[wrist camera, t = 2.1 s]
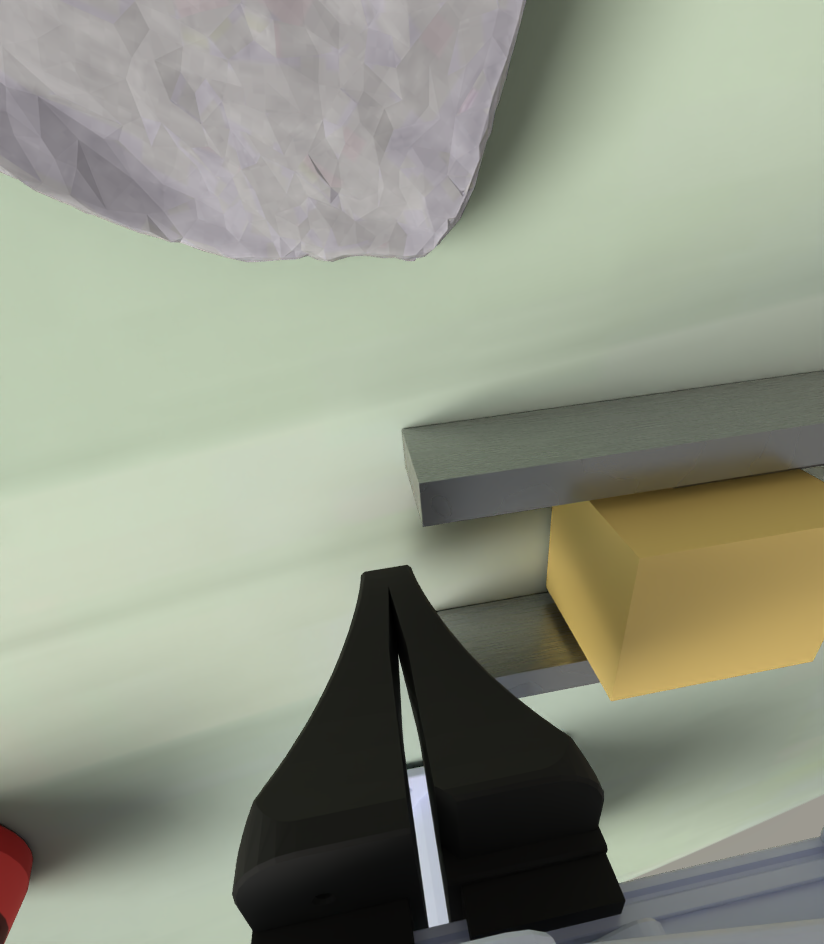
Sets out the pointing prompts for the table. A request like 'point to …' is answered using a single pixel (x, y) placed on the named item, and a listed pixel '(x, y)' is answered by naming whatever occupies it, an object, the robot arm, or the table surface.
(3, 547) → the table surface
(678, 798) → the table surface
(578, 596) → the block
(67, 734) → the table surface
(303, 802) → the robot arm
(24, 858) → the canned food
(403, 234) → the stone block
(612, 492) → the chute
